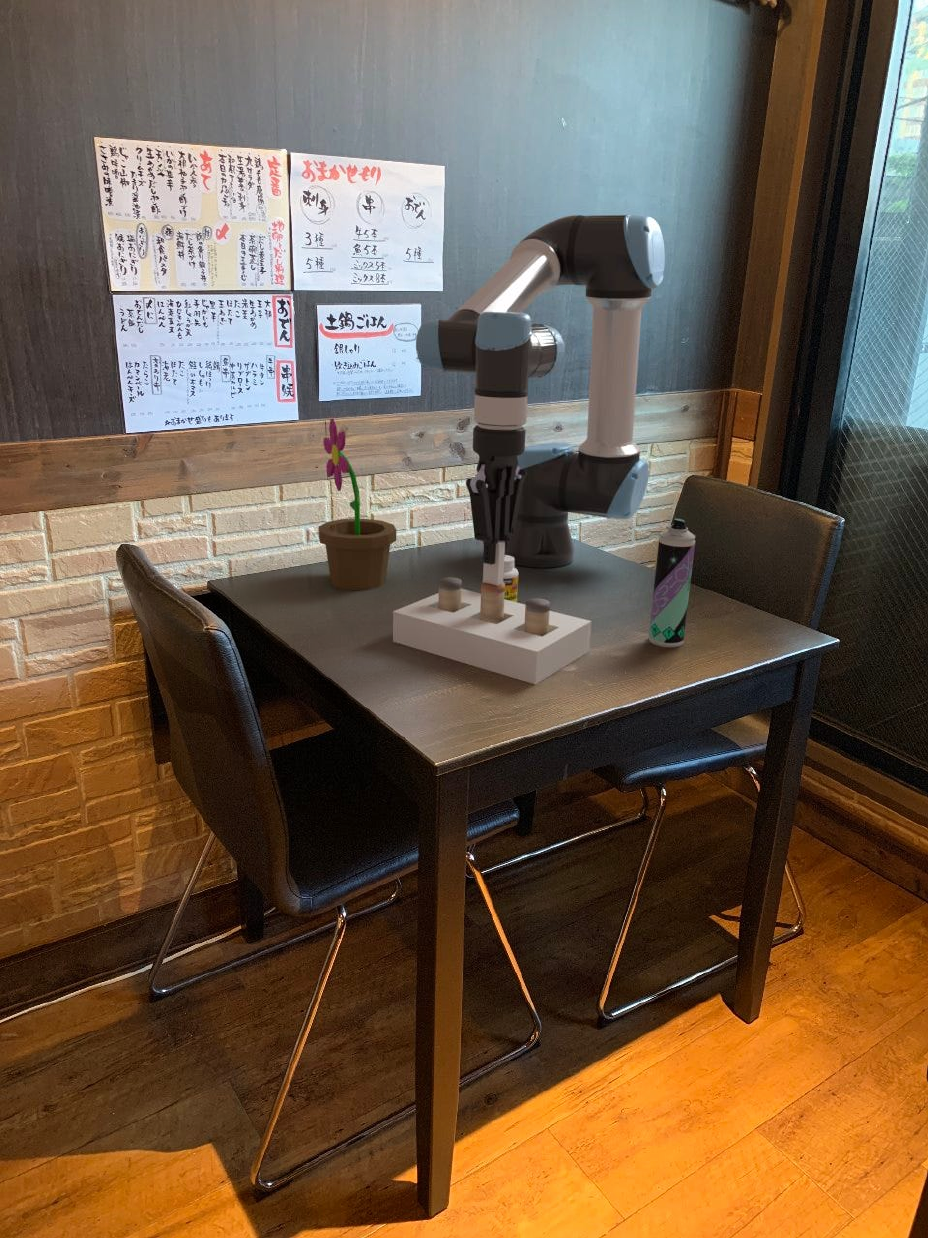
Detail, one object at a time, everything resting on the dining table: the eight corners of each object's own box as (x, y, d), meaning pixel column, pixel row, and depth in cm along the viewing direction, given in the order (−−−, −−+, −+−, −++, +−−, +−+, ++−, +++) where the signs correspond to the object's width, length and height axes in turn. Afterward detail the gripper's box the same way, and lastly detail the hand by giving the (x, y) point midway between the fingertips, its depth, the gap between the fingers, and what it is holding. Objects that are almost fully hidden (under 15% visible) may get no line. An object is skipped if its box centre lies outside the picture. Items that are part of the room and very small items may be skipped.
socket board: (453, 614, 158) (453, 586, 156) (589, 651, 144) (591, 621, 142) (393, 641, 145) (393, 611, 144) (535, 684, 132) (537, 651, 130)
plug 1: (446, 628, 151) (447, 575, 148) (464, 633, 149) (466, 580, 146) (433, 634, 148) (434, 581, 145) (451, 640, 147) (452, 585, 143)
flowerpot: (308, 574, 176) (303, 414, 166) (379, 566, 183) (378, 411, 172) (334, 597, 164) (331, 426, 154) (408, 588, 171) (410, 422, 160)
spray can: (642, 637, 150) (654, 516, 144) (670, 633, 152) (684, 514, 145) (660, 649, 146) (674, 524, 139) (690, 645, 148) (705, 522, 141)
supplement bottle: (496, 623, 155) (498, 564, 151) (477, 613, 159) (479, 555, 155) (522, 617, 157) (526, 559, 154) (503, 608, 162) (506, 551, 158)
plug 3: (530, 652, 143) (533, 596, 140) (550, 658, 141) (554, 601, 138) (518, 659, 140) (521, 602, 137) (538, 665, 138) (542, 608, 135)
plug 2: (487, 633, 147) (489, 578, 143) (506, 638, 145) (509, 583, 142) (474, 639, 144) (476, 584, 141) (494, 645, 142) (496, 589, 139)
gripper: (502, 418, 140) (496, 568, 148) (451, 427, 130) (447, 587, 138) (545, 423, 136) (536, 577, 144) (496, 433, 126) (489, 598, 134)
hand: (492, 582), depth 141 cm, fingers closed
